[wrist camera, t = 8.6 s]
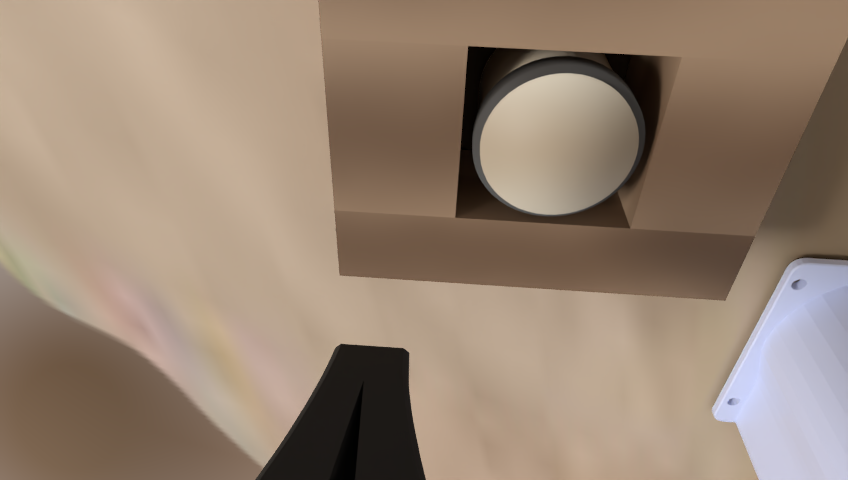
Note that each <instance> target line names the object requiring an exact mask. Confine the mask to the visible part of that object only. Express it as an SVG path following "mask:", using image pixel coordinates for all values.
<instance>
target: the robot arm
mask: <svg viewBox="0 0 848 480" xmlns="http://www.w3.org/2000/svg"><path fill="white" fill-rule="evenodd" d="M799 279H800V280H799ZM796 280H799V281H797V282H794V281H796ZM793 282H794V283H793ZM712 413H713V415H714V417H715V419H717V420H719V421H724V422H736V425H737V427H738V430H739V432H740V435H741V437H742V439H743V442H744V444H745V447H746V449H747V452H748V454H749V457H750V459H751V461H752V464H753V466H754V469H755V471H756V474H757V476H758V479H759V480H848V260H832V259H816V258H800V259H797V260H794V261H793V262H791V263H790V264H789V265H788V267H787V268H786V270H785V272H784V274H783V276H782V278H781V279H780V281H779V283H778V285H777V287H776V289H775V291H774V293H773V295H772V296H771V298H770V300H769V302H768V304H767V306H766V308H765V310H764V312H763V313H762V315H761V317H760V319H759V321H758V323H757V325H756V327H755V329H754V330H753V332H752V334H751V336H750V338H749V340H748V342H747V344H746V346H745V347H744V349H743V351H742V353H741V355H740V357H739V359H738V361H737V363H736V364H735V366H734V368H733V370H732V372H731V374H730V376H729V378H728V380H727V381H726V383H725V385H724V387H723V389H722V391H721V393H720V395H719V397H718V398H717V400H716V402H715V404H714V406H713V408H712ZM256 480H426V479H425V475H424V471H423V466H422V462H421V458H420V453H419V448H418V443H417V439H416V434H415V429H414V423H413V417H412V411H411V403H410V395H409V352H407V351H406V350H405V349H404V348H391V347H376V346H362V345H348V344H340V345H339V346H337V347H336V348H335V350H334V352H333V355H332V357H331V359H330V361H329V363H328V365H327V367H326V369H325V371H324V373H323V375H322V377H321V379H320V381H319V382H318V384H317V386H316V388H315V390H314V391H313V393H312V395H311V396H310V398H309V400H308V402H307V403H306V405H305V407H304V408H303V410H302V411H301V413H300V415H299V416H298V418H297V419H296V421H295V423H294V424H293V426H292V427H291V429H290V430H289V432H288V434H287V435H286V437H285V438H284V440H283V441H282V443H281V444H280V446H279V447H278V449H277V450H276V451H275V453H274V454H273V456H272V457H271V459H270V460H269V461H268V463H267V464H266V466H265V467H264V468H263V470H262V471H261V473H260V474H259V476H258V477H257V478H256Z"/></svg>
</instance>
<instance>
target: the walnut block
mask: <svg viewBox="0 0 848 480" xmlns="http://www.w3.org/2000/svg"><path fill="white" fill-rule="evenodd" d="M318 2H319V15H320V28H321V41H322V54H323V67H324V80H325V93H326V105H327V118H328V131H329V144H330V157H331V170H332V183H333V196H334V209H335V221H336V234H337V247H338V260H339V273H340V275H342V276H357V277H372V278H388V279H403V280H418V281H434V282H449V283H464V284H480V285H495V286H510V287H525V288H541V289H556V290H571V291H587V292H602V293H617V294H633V295H648V296H663V297H679V298H694V299H709V300H726V298H727V296H728V294H729V291H730V289H731V287H732V285H733V283H734V281H735V279H736V276H737V274H738V272H739V270H740V268H741V266H742V264H743V261H744V259H745V257H746V255H747V253H748V251H749V249H750V246H751V244H752V242H753V240H754V238H755V236H756V234H757V231H758V229H759V227H760V225H761V223H762V221H763V219H764V216H765V214H766V212H767V210H768V208H769V206H770V204H771V201H772V199H773V197H774V195H775V193H776V191H777V189H778V186H779V184H780V182H781V180H782V178H783V176H784V174H785V171H786V169H787V167H788V165H789V163H790V161H791V159H792V156H793V154H794V152H795V150H796V148H797V146H798V144H799V141H800V139H801V137H802V135H803V133H804V131H805V129H806V126H807V124H808V122H809V120H810V118H811V116H812V114H813V111H814V109H815V107H816V105H817V103H818V101H819V99H820V96H821V94H822V92H823V90H824V88H825V86H826V84H827V81H828V79H829V77H830V75H831V73H832V71H833V69H834V66H835V64H836V62H837V60H838V58H839V56H840V53H841V51H842V49H843V47H844V45H845V43H846V41H847V38H848V0H318ZM468 46H478V47H497V48H517V49H536V50H556V51H575V52H594V53H614V54H631V58H630V62H629V66H628V70H627V74H626V78H625V82H626V84H627V85H628V86H629V88H630V89H631V91H632V93H633V94H634V96H635V98H636V100H637V102H638V104H639V107H640V109H641V111H642V114H643V118H644V122H645V144H644V149H643V153H642V156H641V158H640V161H639V163H638V165H637V167H636V169H635V171H634V172H633V174H632V175H631V177H630V178H629V179H628V181H627V182H626V183H625V184H624V185H623V186H622V187H621V188H620V189H619V190H618V191H617V192H616V193H615V194H613V195H612V196H611V197H609V198H608V199H606V200H605V201H603V202H601V203H600V204H598V205H596V206H594V207H592V208H589V209H587V210H584V211H581V212H578V213H574V214H569V215H564V216H537V215H531V214H527V213H523V212H520V211H518V210H515V209H513V208H511V207H509V206H507V205H505V204H504V203H502V202H501V201H499V200H498V199H497V198H495V197H494V196H493V195H492V194H491V193H490V192H489V191H488V190H487V188H486V187H485V186H484V184H483V183H482V181H481V180H480V178H479V176H478V173H477V171H476V168H475V165H474V161H473V154H472V151H470V150H460V147H461V134H462V120H463V107H464V94H465V80H466V67H467V54H468Z"/></svg>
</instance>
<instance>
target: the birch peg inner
mask: <svg viewBox="0 0 848 480" xmlns="http://www.w3.org/2000/svg"><path fill="white" fill-rule="evenodd" d="M644 144H645V122H644V118H643V114H642V111H641V109H640V107H639V104H638V102H637V100H636V98H635V96H634V94H633V93H632V91H631V89H630V88H629V86H628V85H627V84H626V82H625V81H624V80H623V79H622V78H621V77H620V76H619V75H618V74H616V73H615V72H614V71H613V70H612V69H611V66H610V64H609V62H608V60H607V58H606V56H605V54H604V53H594V52H575V51H556V50H536V49H517V48H497V49H496V50H495V51H494V52H493V54H492V55H491V56H490V58H489V59H488V61H487V63H486V65H485V67H484V69H483V72H482V75H481V78H480V84H479V109H478V111H477V114H476V117H475V121H474V125H473V132H472V154H473V161H474V165H475V168H476V171H477V173H478V176H479V178H480V180H481V181H482V183H483V184H484V186H485V187H486V188H487V190H488V191H489V192H490V193H491V194H492V195H493V196H494V197H495V198H497V199H498V200H499V201H501V202H502V203H504V204H505V205H507V206H509V207H511V208H513V209H515V210H518V211H520V212H523V213H527V214H531V215H537V216H564V215H569V214H574V213H578V212H581V211H584V210H587V209H589V208H592V207H594V206H596V205H598V204H600V203H601V202H603V201H605V200H606V199H608V198H609V197H611V196H612V195H613V194H615V193H616V192H617V191H618V190H619V189H620V188H621V187H622V186H623V185H624V184H625V183H626V182H627V181H628V179H629V178H630V177H631V175H632V174H633V172H634V171H635V169H636V167H637V165H638V163H639V161H640V158H641V156H642V153H643V149H644Z"/></svg>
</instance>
